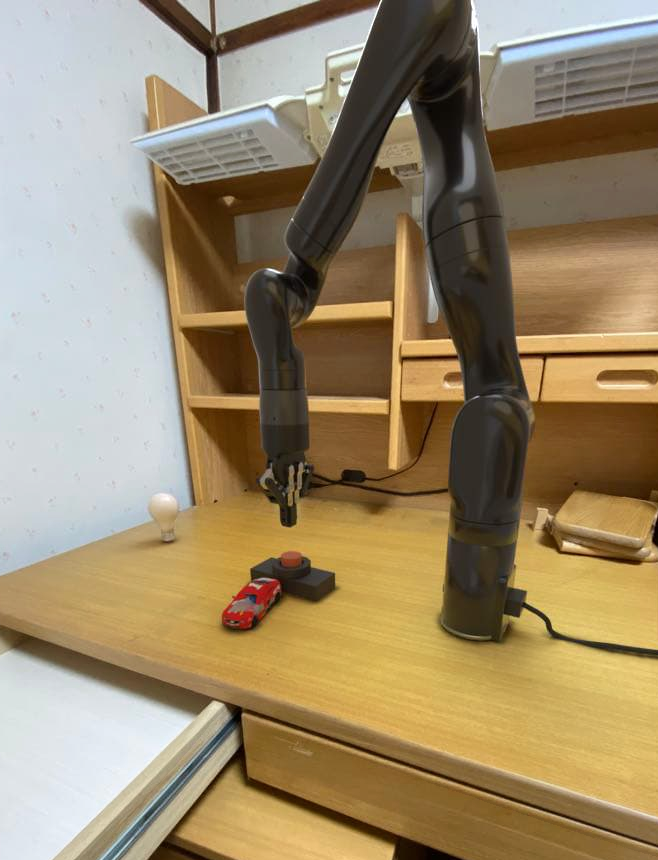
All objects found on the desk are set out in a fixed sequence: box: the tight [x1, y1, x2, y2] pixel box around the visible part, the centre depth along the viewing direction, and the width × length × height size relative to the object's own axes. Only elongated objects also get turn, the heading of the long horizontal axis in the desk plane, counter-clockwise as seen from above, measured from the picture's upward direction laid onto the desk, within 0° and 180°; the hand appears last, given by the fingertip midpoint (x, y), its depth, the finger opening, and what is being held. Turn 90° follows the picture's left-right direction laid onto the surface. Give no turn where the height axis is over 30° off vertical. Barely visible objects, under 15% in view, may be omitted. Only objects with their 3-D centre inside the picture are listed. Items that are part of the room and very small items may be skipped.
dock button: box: [280, 550, 303, 567], centre depth 79 cm, size 4×4×2 cm
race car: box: [221, 578, 283, 630], centre depth 72 cm, size 13×5×4 cm, turn 161°
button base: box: [249, 555, 336, 603], centre depth 80 cm, size 14×6×4 cm, turn 59°
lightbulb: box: [147, 492, 180, 543], centre depth 100 cm, size 6×6×11 cm
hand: (289, 525), depth 77 cm, fingers closed
